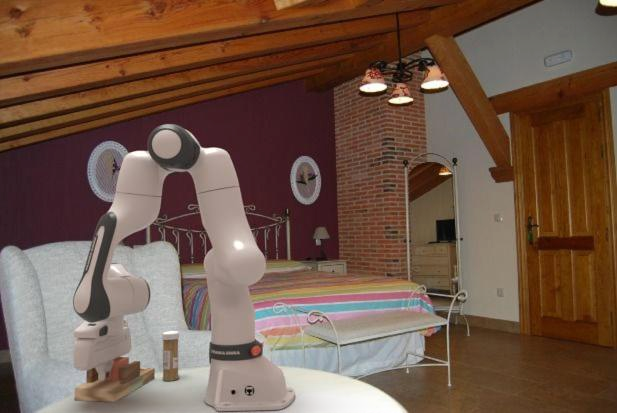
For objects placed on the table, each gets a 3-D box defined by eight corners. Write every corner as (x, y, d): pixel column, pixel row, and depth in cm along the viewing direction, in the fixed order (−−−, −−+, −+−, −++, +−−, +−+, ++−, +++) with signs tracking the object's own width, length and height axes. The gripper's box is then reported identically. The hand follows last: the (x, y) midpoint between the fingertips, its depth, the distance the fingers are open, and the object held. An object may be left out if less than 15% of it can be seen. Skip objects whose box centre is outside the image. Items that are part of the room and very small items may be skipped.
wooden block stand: (154, 378, 133) (154, 354, 134) (114, 401, 114) (114, 373, 114) (120, 377, 135) (120, 353, 136) (74, 400, 116) (75, 371, 116)
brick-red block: (128, 375, 126) (129, 357, 127) (118, 380, 121) (118, 361, 122) (112, 375, 127) (112, 356, 127) (101, 380, 122) (101, 361, 122)
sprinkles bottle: (180, 379, 132) (180, 332, 133) (164, 382, 129) (165, 334, 131) (175, 376, 136) (176, 329, 137) (160, 378, 133) (160, 331, 134)
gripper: (117, 318, 131) (116, 368, 130) (69, 332, 111) (67, 390, 110) (137, 319, 130) (136, 368, 129) (92, 332, 110) (91, 391, 109)
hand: (104, 379), depth 119 cm, fingers closed
